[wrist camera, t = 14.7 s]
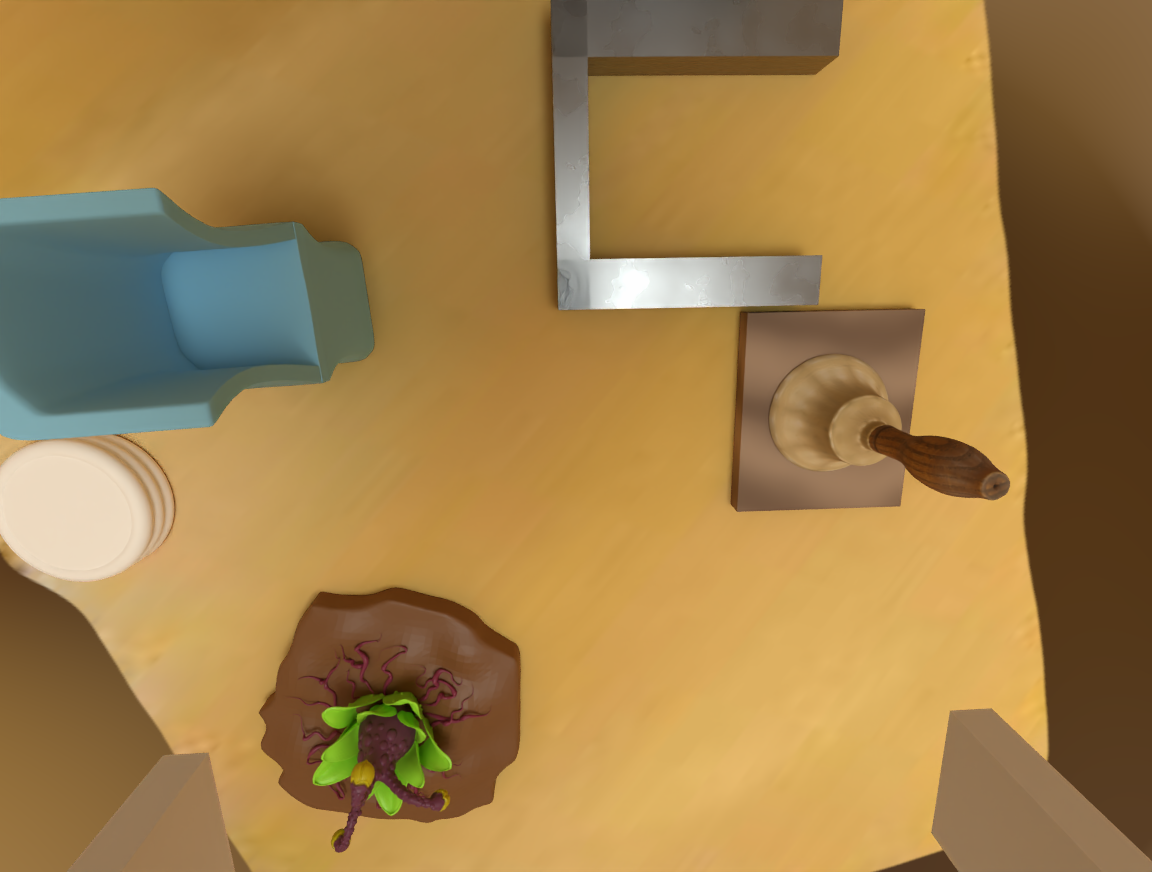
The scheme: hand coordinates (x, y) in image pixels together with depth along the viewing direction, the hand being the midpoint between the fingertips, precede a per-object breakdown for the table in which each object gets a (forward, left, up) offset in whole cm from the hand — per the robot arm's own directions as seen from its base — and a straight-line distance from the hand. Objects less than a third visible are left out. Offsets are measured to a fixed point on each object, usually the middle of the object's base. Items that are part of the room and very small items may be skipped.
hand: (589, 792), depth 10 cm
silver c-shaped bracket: (-16, +8, -32) cm, 36 cm away
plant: (+23, -13, -32) cm, 42 cm away
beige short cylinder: (+5, -33, -32) cm, 46 cm away
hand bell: (0, +18, -30) cm, 36 cm away
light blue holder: (-8, -17, -32) cm, 37 cm away
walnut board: (0, +18, -32) cm, 37 cm away
